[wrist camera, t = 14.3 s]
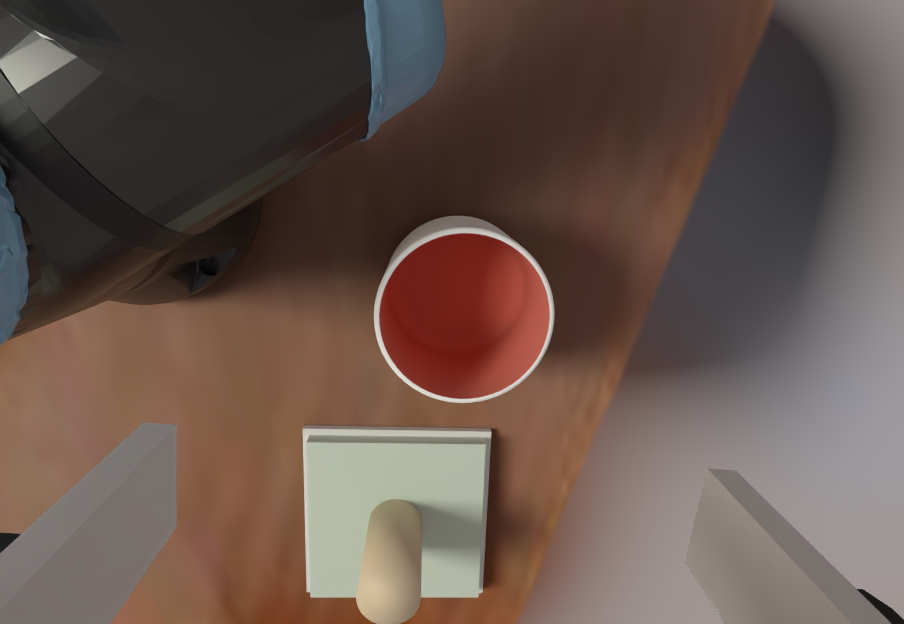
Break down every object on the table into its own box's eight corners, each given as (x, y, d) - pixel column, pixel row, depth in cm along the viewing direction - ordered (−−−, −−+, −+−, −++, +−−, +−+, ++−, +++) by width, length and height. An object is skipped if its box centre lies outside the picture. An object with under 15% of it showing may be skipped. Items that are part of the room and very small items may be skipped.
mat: (308, 586, 47) (306, 592, 47) (304, 425, 44) (302, 428, 43) (481, 587, 48) (482, 592, 47) (490, 428, 45) (491, 431, 44)
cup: (357, 270, 42) (335, 301, 32) (471, 184, 40) (486, 189, 31) (441, 377, 44) (445, 436, 34) (552, 298, 43) (589, 335, 33)
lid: (313, 586, 47) (286, 685, 38) (309, 435, 44) (278, 503, 35) (477, 586, 47) (488, 683, 38) (484, 437, 44) (498, 504, 35)
